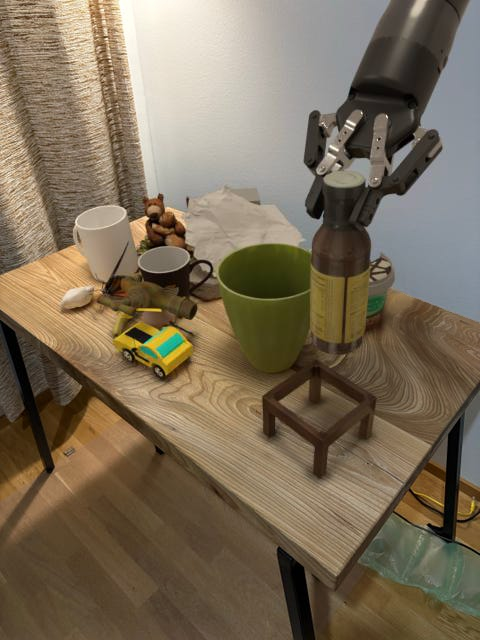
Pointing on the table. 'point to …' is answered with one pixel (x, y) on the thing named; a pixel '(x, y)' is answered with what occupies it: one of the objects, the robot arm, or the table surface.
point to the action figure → (149, 299)
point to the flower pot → (267, 301)
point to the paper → (232, 226)
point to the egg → (158, 318)
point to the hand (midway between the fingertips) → (333, 221)
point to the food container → (378, 289)
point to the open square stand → (315, 375)
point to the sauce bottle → (339, 269)
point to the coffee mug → (170, 269)
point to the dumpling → (77, 297)
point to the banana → (119, 325)
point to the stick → (181, 328)
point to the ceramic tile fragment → (204, 284)
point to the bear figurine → (162, 229)
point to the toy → (248, 194)
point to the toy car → (153, 346)
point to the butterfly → (114, 282)
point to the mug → (106, 241)
